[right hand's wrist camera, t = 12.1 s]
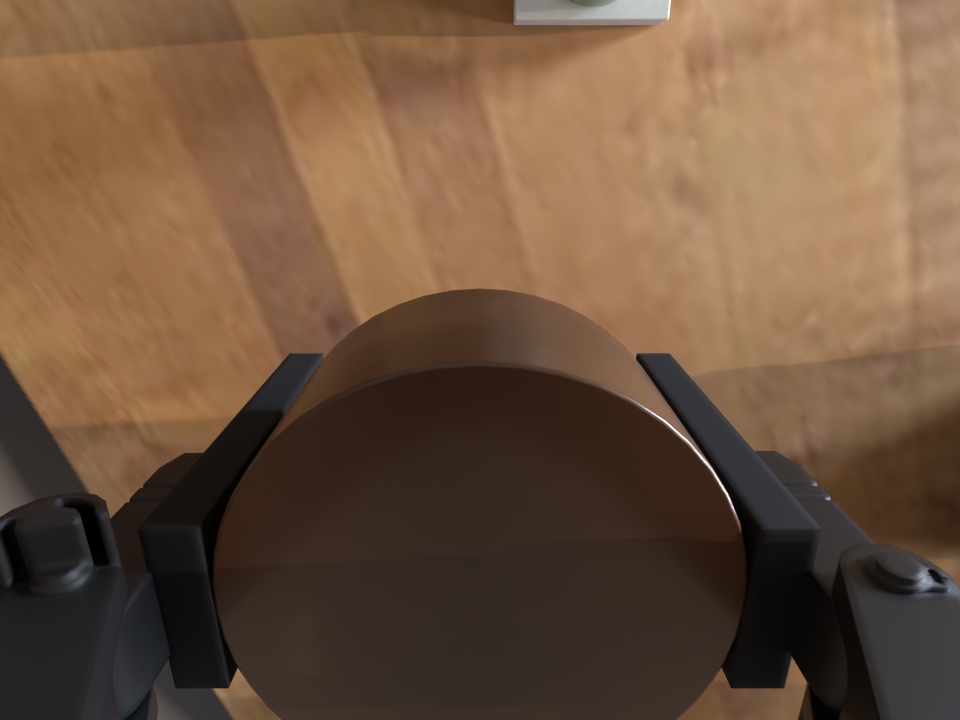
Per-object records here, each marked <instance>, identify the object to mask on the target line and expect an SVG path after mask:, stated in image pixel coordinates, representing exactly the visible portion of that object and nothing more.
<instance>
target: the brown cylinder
mask: <svg viewBox="0 0 960 720" xmlns="http://www.w3.org/2000/svg"><path fill="white" fill-rule="evenodd" d="M212 583H213V592H214V601H215V609H216V613H217V617H218V620H219V624H220V628H221V631H222V635H223V638H224V640H225V642H226V644H227V646H228V649H229V651H230V653H231V655H232V657H233V660H234V662H235V663H236V665H237V667H238V668H239V670H240V671H241V673H242V674H243V676H244V677H245V679H246V681H247V682H248V684H249V685H250V686H251V688H252V689H253V690H254V691H255V692H256V693H257V695H258V696H259V697H260V698H261V699H262V701H263V702H264V703H265V704H266V705H267V706H268V707H269V708H270V709H271V710H272V711H273V712H274V713H275V714H276V715H277V716H278V717H280V718H281V719H282V720H677V719H678V718H680V717H681V716H682V715H683V714H684V713H685V712H686V711H687V710H688V709H689V708H690V707H691V706H693V704H694V703H695V702H696V701H697V700H698V698H699V697H700V696H701V695H702V694H703V693H704V691H705V690H706V689H707V688H708V687H709V685H710V684H711V683H712V681H713V680H714V678H715V676H716V675H717V673H718V672H719V670H720V669H721V667H722V665H723V664H724V662H725V661H726V658H727V656H728V654H729V652H730V650H731V647H732V645H733V643H734V641H735V639H736V636H737V633H738V630H739V626H740V623H741V619H742V615H743V610H744V604H745V599H746V590H747V559H746V548H745V544H744V539H743V534H742V530H741V525H740V521H739V519H738V516H737V514H736V511H735V509H734V507H733V504H732V502H731V499H730V497H729V494H728V492H727V491H726V489H725V487H724V486H723V484H722V483H721V481H720V479H719V478H718V476H717V474H716V473H715V471H714V469H713V468H712V466H711V465H710V463H709V462H708V460H707V459H706V458H705V456H704V455H703V453H702V452H701V450H700V449H699V448H698V446H697V445H696V443H695V442H694V440H693V439H692V438H691V436H690V435H689V433H688V432H687V430H686V429H685V428H684V426H683V425H682V423H681V422H680V420H679V419H678V418H677V416H676V415H675V413H674V412H673V410H672V409H671V408H670V406H669V405H668V403H667V402H666V400H665V399H664V398H663V396H662V395H661V393H660V392H659V390H658V389H657V388H656V386H655V385H654V383H653V382H652V380H651V379H650V378H649V376H648V375H647V373H646V372H645V370H644V369H643V368H642V366H641V365H640V364H639V363H638V362H637V360H636V359H635V358H634V357H633V356H632V354H631V353H630V352H629V351H628V350H627V348H626V347H625V346H623V345H622V344H621V343H620V342H619V341H618V340H617V339H616V338H614V337H613V336H612V335H611V334H610V333H609V332H608V331H606V330H605V329H603V328H602V327H600V326H599V325H598V324H596V323H595V322H593V321H592V320H590V319H589V318H587V317H586V316H584V315H582V314H580V313H578V312H575V311H573V310H571V309H569V308H567V307H565V306H563V305H561V304H558V303H555V302H552V301H549V300H546V299H543V298H540V297H537V296H534V295H528V294H523V293H518V292H513V291H508V290H492V289H467V290H452V291H447V292H441V293H436V294H431V295H426V296H422V297H419V298H416V299H413V300H410V301H407V302H404V303H401V304H398V305H396V306H394V307H392V308H390V309H388V310H386V311H384V312H382V313H380V314H378V315H376V316H374V317H372V318H371V319H369V320H368V321H366V322H365V323H363V324H362V325H360V326H359V327H358V328H356V329H355V330H353V331H352V332H351V333H349V334H348V335H347V336H346V337H345V338H344V339H343V340H342V341H341V342H339V343H338V344H337V345H336V346H335V347H334V348H333V349H332V350H331V351H330V352H329V354H328V355H327V356H326V357H325V358H324V360H323V361H322V362H321V363H320V364H319V366H318V367H317V368H316V370H315V371H314V373H313V374H312V375H311V377H310V378H309V380H308V381H307V383H306V384H305V386H304V387H303V388H302V390H301V391H300V393H299V394H298V396H297V397H296V399H295V400H294V402H293V403H292V404H291V406H290V407H289V409H288V410H287V412H286V413H285V415H284V416H283V417H282V419H281V420H280V422H279V423H278V425H277V426H276V428H275V429H274V431H273V432H272V433H271V435H270V436H269V438H268V439H267V441H266V442H265V444H264V445H263V446H262V448H261V449H260V451H259V452H258V454H257V455H256V457H255V458H254V460H253V461H252V462H251V464H250V465H249V467H248V468H247V470H246V472H245V473H244V475H243V477H242V478H241V480H240V482H239V483H238V485H237V486H236V488H235V490H234V491H233V493H232V495H231V497H230V500H229V502H228V505H227V507H226V510H225V512H224V514H223V517H222V519H221V522H220V526H219V530H218V535H217V539H216V544H215V548H214V557H213V577H212Z"/></svg>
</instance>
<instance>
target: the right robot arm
mask: <svg viewBox="0 0 960 720" xmlns="http://www.w3.org/2000/svg"><path fill="white" fill-rule="evenodd" d="M636 360H637V362H638V363H639V364H640V365H641V366H642V368H643V369H644V370H645V372H646V373H647V375H648V376H649V378H650V379H651V380H652V382H653V383H654V385H655V386H656V388H657V389H658V390H659V392H660V393H661V395H662V396H663V398H664V399H665V400H666V402H667V403H668V405H669V406H670V408H671V409H672V410H673V412H674V413H675V415H676V416H677V418H678V419H679V420H680V422H681V423H682V425H683V426H684V428H685V429H686V430H687V432H688V433H689V435H690V436H691V438H692V439H693V440H694V442H695V443H696V445H697V446H698V448H699V449H700V450H701V452H702V453H703V455H704V456H705V458H706V459H707V460H708V462H709V463H710V465H711V466H712V468H713V469H714V471H715V473H716V474H717V476H718V478H719V479H720V481H721V483H722V484H723V486H724V487H725V489H726V491H727V492H728V494H729V497H730V499H731V502H732V504H733V507H734V509H735V511H736V514H737V516H738V519H739V521H740V525H741V530H742V534H743V539H744V544H745V548H746V559H747V590H746V599H745V604H744V610H743V615H742V619H741V623H740V626H739V630H738V633H737V636H736V639H735V641H734V643H733V645H732V647H731V650H730V652H729V654H728V656H727V658H726V661H725V662H724V664H723V665H722V669H723V671H724V673H725V676H726V678H727V680H728V682H729V685H730V687H731V688H784V686H785V682H786V678H787V674H788V669H789V665H790V661H791V657H793V659H794V661H795V662H796V664H797V666H798V667H799V669H800V671H801V672H802V674H803V676H804V677H805V679H806V681H807V686H806V690H805V694H804V698H803V702H802V706H801V710H800V713H799V717H798V720H960V588H959V587H958V585H957V584H956V583H955V582H954V581H953V579H952V578H951V577H950V576H949V575H948V574H947V573H946V572H944V571H943V570H941V569H940V568H939V567H937V566H936V565H934V564H933V563H932V562H930V561H928V560H926V559H924V558H922V557H920V556H917V555H915V554H913V553H911V552H909V551H906V550H902V549H899V548H895V547H892V546H888V545H882V544H876V543H875V542H874V541H873V540H872V539H871V538H870V537H869V536H868V535H867V534H866V533H865V532H864V531H863V530H862V529H861V528H860V527H859V526H858V525H857V524H856V523H855V522H854V521H853V520H852V519H851V518H850V516H849V515H848V514H847V513H846V512H845V511H844V510H843V509H842V508H841V507H840V506H839V505H838V504H837V503H836V502H835V501H834V500H831V499H830V496H829V495H828V494H827V493H826V492H825V491H824V490H823V489H822V488H821V487H820V486H817V482H816V481H815V480H814V479H813V478H812V477H811V476H810V475H809V474H808V473H807V472H806V471H805V470H804V469H803V468H802V467H801V466H800V465H798V464H797V463H795V462H793V461H791V460H790V459H788V458H786V457H784V456H783V455H781V454H779V453H777V452H776V451H754V450H753V449H752V448H751V447H750V446H749V445H748V443H747V442H746V441H745V440H744V439H743V438H742V436H741V435H740V434H739V433H738V432H737V431H736V430H735V428H734V427H733V426H732V425H731V424H730V423H729V421H728V420H727V419H726V418H725V417H724V416H723V415H722V413H721V412H720V411H719V410H718V409H717V408H716V406H715V405H714V404H713V403H712V402H711V401H710V400H709V398H708V397H707V396H706V395H705V394H704V393H703V391H702V390H701V389H700V388H699V387H698V386H697V385H696V383H695V382H694V381H693V380H692V379H691V378H690V376H689V375H688V374H687V373H686V372H685V371H684V370H683V368H682V367H681V366H680V365H679V364H678V363H677V361H676V360H675V359H674V358H673V357H672V356H671V355H670V354H637V356H636ZM322 361H323V354H289V355H288V356H287V357H286V359H285V360H284V361H283V362H282V363H281V364H280V366H279V367H278V368H277V369H276V370H275V371H274V372H273V374H272V375H271V376H270V377H269V378H268V379H267V381H266V382H265V383H264V384H263V385H262V386H261V387H260V389H259V390H258V391H257V392H256V393H255V394H254V396H253V397H252V398H251V399H250V400H249V401H248V402H247V404H246V405H245V406H244V407H243V408H242V409H241V411H240V412H239V413H238V414H237V415H236V416H235V417H234V419H233V420H232V421H231V422H230V423H229V424H228V426H227V427H226V428H225V429H224V430H223V431H222V432H221V434H220V435H219V436H218V437H217V438H216V439H215V441H214V442H213V443H212V444H211V445H210V446H209V447H208V449H207V450H206V451H205V452H204V453H184V454H182V455H181V456H179V457H177V458H176V459H174V460H172V461H170V462H169V463H167V464H165V465H163V466H162V467H160V468H159V469H158V470H157V471H156V472H155V473H154V474H153V475H152V476H151V477H150V478H149V479H148V480H147V481H146V482H145V483H144V485H143V488H140V489H139V490H138V491H137V492H136V493H135V494H134V495H133V496H132V497H131V498H130V502H129V503H125V504H124V505H123V506H122V507H121V508H120V510H119V511H118V512H117V513H116V514H115V515H114V516H113V517H112V518H111V519H110V516H109V512H108V508H107V505H106V501H105V500H103V499H102V498H100V497H99V496H97V495H94V494H87V493H69V494H59V495H55V496H51V497H47V498H43V499H39V500H35V501H32V502H30V503H28V504H25V505H23V506H20V507H18V508H15V509H13V510H11V511H10V512H8V513H6V514H5V515H3V516H1V517H0V720H157V714H158V706H157V699H156V694H155V690H154V686H153V683H154V682H155V680H156V678H157V676H158V675H159V673H160V672H161V670H162V668H163V666H164V665H165V663H166V661H167V660H168V659H169V663H170V667H171V671H172V675H173V679H174V684H175V687H176V688H229V686H230V684H231V681H232V679H233V677H234V675H235V673H236V670H237V668H238V667H237V665H236V663H235V662H234V660H233V657H232V655H231V653H230V651H229V649H228V646H227V644H226V642H225V640H224V638H223V635H222V631H221V628H220V624H219V620H218V617H217V613H216V609H215V601H214V592H213V583H212V577H213V557H214V548H215V544H216V539H217V535H218V530H219V526H220V522H221V519H222V517H223V514H224V512H225V510H226V507H227V505H228V502H229V500H230V497H231V495H232V493H233V491H234V490H235V488H236V486H237V485H238V483H239V482H240V480H241V478H242V477H243V475H244V473H245V472H246V470H247V468H248V467H249V465H250V464H251V462H252V461H253V460H254V458H255V457H256V455H257V454H258V452H259V451H260V449H261V448H262V446H263V445H264V444H265V442H266V441H267V439H268V438H269V436H270V435H271V433H272V432H273V431H274V429H275V428H276V426H277V425H278V423H279V422H280V420H281V419H282V417H283V416H284V415H285V413H286V412H287V410H288V409H289V407H290V406H291V404H292V403H293V402H294V400H295V399H296V397H297V396H298V394H299V393H300V391H301V390H302V388H303V387H304V386H305V384H306V383H307V381H308V380H309V378H310V377H311V375H312V374H313V373H314V371H315V370H316V368H317V367H318V366H319V364H320V363H321V362H322Z"/></svg>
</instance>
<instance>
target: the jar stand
mask: <svg viewBox="0 0 960 720" xmlns="http://www.w3.org/2000/svg"><path fill="white" fill-rule="evenodd" d="M669 9H670V0H514V12H513V24H514V25H660V24H662V23H663V22H665V21H667V20H668V19H669Z"/></svg>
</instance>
